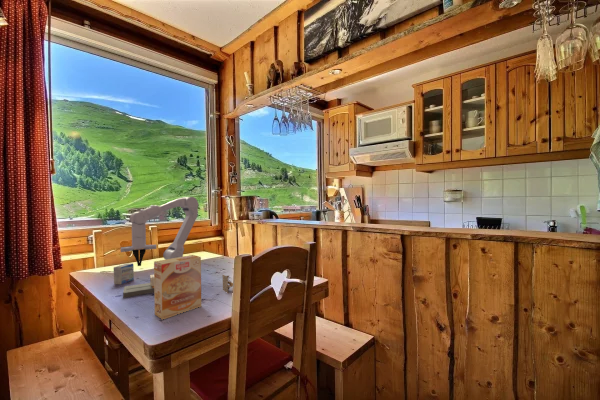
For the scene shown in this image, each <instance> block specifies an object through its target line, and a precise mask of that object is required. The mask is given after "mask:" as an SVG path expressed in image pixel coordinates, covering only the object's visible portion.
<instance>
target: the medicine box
mask: <svg viewBox="0 0 600 400" xmlns="http://www.w3.org/2000/svg"><path fill="white" fill-rule="evenodd" d="M134 275H135V273H134V263H131V262H129V263H124V264H121V265H117V266H114V267H113V284H114V285H124V284H128V283H129V282H133V281H134V280H135V277H134Z"/></svg>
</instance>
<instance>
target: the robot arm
mask: <svg viewBox="0 0 600 400" xmlns="http://www.w3.org/2000/svg"><path fill="white" fill-rule="evenodd" d="M199 205H200V204H199V201H198V200H197V198H196V197H194V196H182V197H179V198H176V199H174V200H170V201H168V202H166V203H164V204H162V205H161V204H160V205H156V204H151V205H149V207H147V208H144V209H143V208H140V209H139V211H134V212H132V213H131V214H130V217H129V218H128V219H129V221H130V222H131V246H125V247H123V246H122V247H120V253H125V252H132V254H133V256H134V258H135V261H136V264H137V267H141V266H142V263H143V258H144V256H145V254H146V250H157V244H147V237H146V236H147V233H146V232H147V231H146V230H147V227H146V223H147V222H148V221H150V220H153V219H155V218H158V217H160V216H161V215H162V213H164V212H166V211H168V210H172V209H174V208H177V207H178V208H181V210H182V211H184V212H183V213H185V218H184V220H183V221H182V223H181V225H180V227H179V229H178V232H177V234H176V236H175V238H174V240H173V242H172V243H171V244H170V245H169V246H168V247H167V248H166V249H165V251H164V252H163V260H166V259H172V258H177V257H183V256H184V251H185V248H184V245H185V243H186V242H187V239H188V236H189V235H190V233H191V230H192V229H193V226H194V225H195V223H196V221H197V218H198V215H199V214H198V209H199Z"/></svg>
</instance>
